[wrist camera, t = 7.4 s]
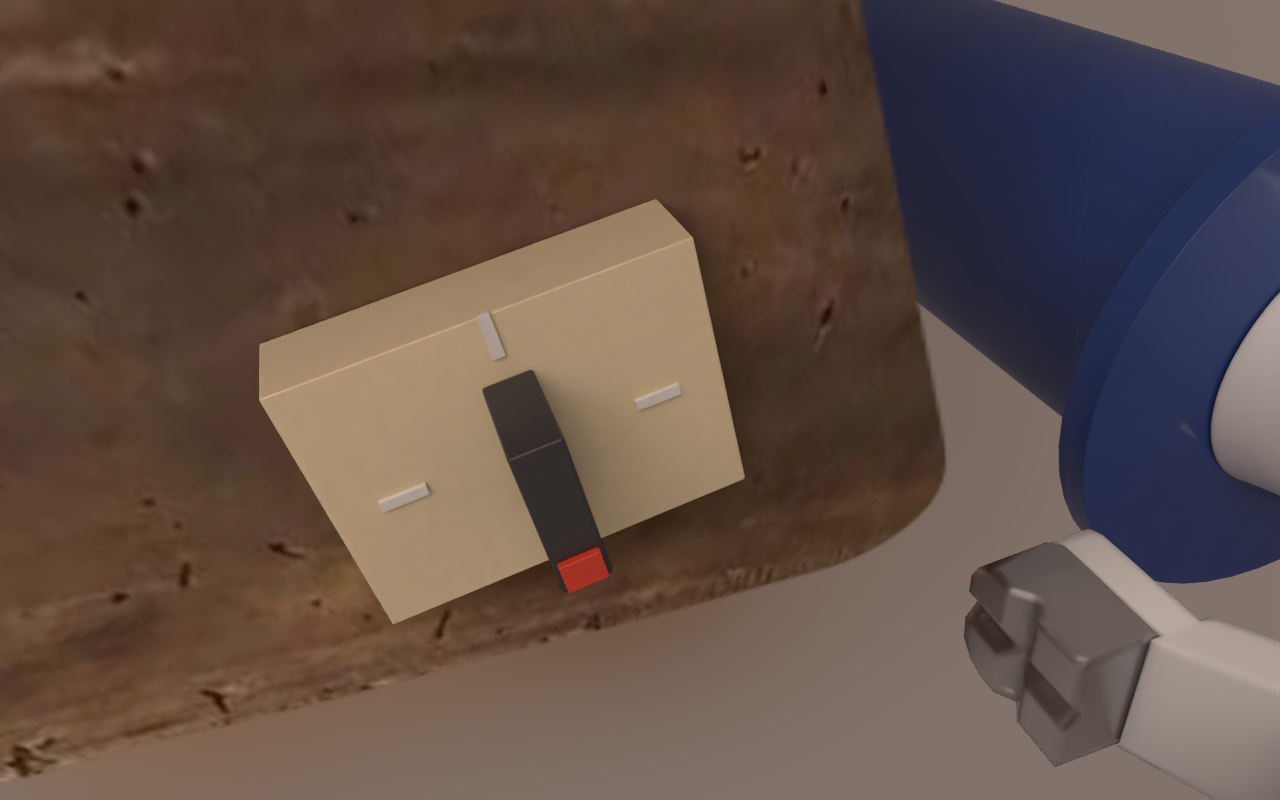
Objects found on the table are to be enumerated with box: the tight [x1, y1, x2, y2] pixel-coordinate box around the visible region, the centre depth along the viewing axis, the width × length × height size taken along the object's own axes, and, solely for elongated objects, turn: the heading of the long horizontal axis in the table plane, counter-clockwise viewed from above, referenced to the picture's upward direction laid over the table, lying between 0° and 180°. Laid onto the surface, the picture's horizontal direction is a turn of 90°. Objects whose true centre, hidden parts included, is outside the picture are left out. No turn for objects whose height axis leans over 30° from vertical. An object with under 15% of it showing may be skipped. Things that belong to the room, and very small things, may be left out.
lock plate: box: [259, 199, 745, 624], centre depth 28 cm, size 12×9×3 cm
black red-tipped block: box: [482, 370, 612, 593], centre depth 26 cm, size 5×2×4 cm, turn 13°
